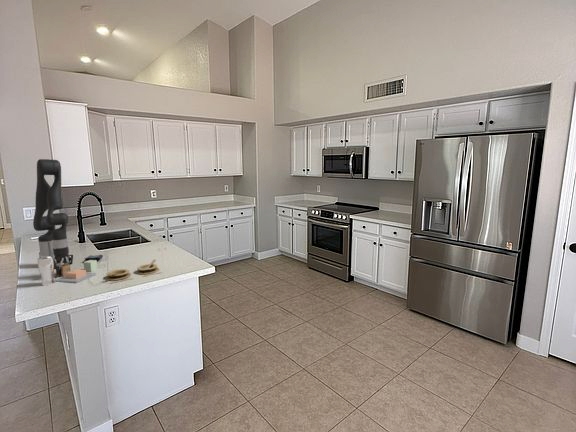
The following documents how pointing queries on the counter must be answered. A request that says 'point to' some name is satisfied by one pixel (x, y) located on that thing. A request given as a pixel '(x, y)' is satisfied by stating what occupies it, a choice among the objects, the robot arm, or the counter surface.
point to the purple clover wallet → (93, 257)
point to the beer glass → (46, 270)
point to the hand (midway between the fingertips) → (63, 273)
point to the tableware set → (125, 273)
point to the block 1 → (64, 270)
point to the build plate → (75, 276)
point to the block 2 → (90, 265)
